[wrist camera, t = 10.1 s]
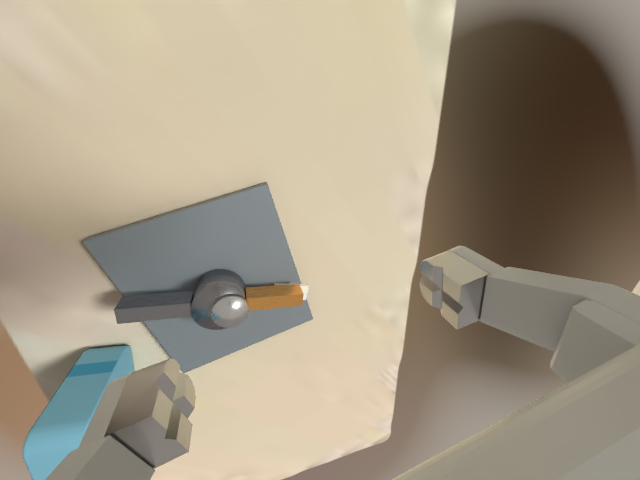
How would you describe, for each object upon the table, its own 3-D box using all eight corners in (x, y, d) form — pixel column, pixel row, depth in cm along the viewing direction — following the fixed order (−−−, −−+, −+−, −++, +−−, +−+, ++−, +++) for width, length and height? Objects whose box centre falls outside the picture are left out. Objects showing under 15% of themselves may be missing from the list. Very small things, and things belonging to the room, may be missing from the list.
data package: (88, 343, 32) (16, 448, 21) (130, 339, 33) (83, 435, 23) (102, 408, 36) (48, 522, 26) (139, 402, 38) (102, 508, 27)
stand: (89, 236, 27) (78, 244, 25) (273, 179, 31) (276, 182, 29) (185, 364, 37) (182, 377, 35) (316, 310, 41) (320, 319, 39)
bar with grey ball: (133, 317, 30) (116, 348, 26) (124, 273, 28) (104, 300, 24) (295, 302, 37) (303, 325, 32) (298, 265, 34) (307, 285, 30)
